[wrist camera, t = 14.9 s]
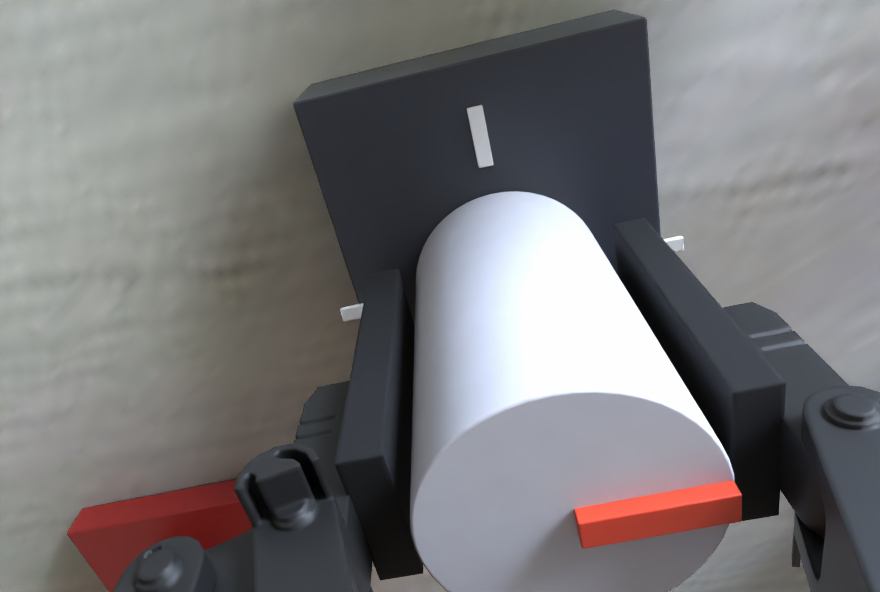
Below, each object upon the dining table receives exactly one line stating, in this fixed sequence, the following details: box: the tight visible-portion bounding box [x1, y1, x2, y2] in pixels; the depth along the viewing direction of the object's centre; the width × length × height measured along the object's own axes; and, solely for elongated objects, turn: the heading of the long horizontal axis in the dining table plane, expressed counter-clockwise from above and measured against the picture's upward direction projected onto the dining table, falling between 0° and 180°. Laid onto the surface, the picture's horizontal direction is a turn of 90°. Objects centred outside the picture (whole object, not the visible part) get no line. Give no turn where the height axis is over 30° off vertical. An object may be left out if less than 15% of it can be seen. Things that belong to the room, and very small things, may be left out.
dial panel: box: [293, 10, 684, 326], centre depth 17 cm, size 11×9×3 cm
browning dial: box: [410, 191, 742, 592], centre depth 13 cm, size 5×5×8 cm
